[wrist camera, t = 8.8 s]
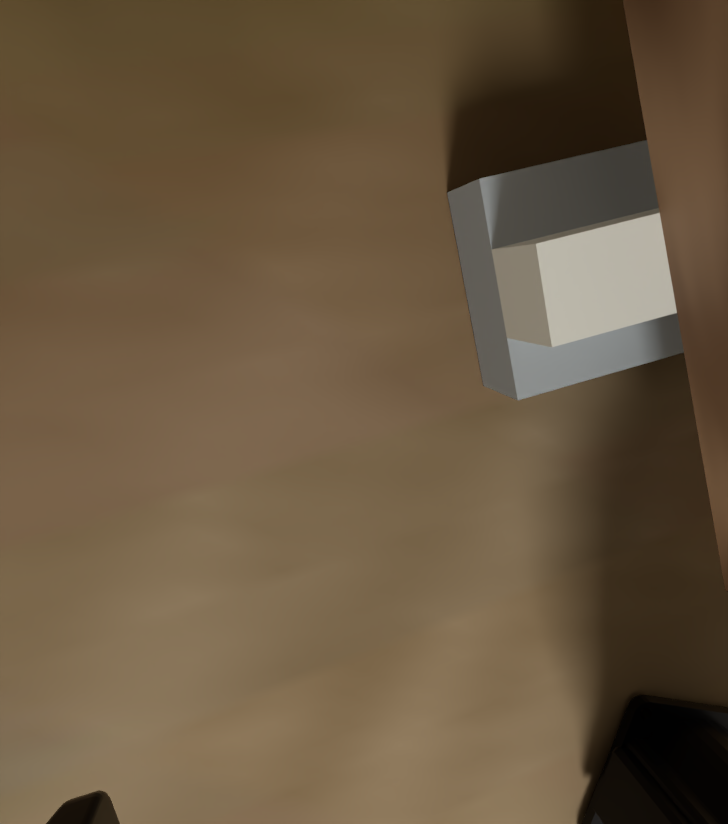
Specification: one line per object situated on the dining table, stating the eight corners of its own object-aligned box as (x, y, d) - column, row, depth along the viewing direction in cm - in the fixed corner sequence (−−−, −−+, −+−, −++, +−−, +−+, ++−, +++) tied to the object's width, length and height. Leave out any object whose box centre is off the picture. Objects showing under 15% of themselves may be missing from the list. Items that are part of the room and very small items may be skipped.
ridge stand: (753, 309, 21) (907, 317, 16) (483, 385, 19) (563, 419, 15) (740, 124, 19) (905, 72, 15) (447, 192, 18) (522, 159, 13)
